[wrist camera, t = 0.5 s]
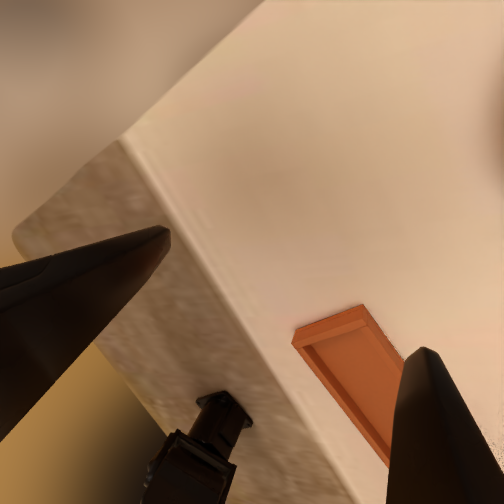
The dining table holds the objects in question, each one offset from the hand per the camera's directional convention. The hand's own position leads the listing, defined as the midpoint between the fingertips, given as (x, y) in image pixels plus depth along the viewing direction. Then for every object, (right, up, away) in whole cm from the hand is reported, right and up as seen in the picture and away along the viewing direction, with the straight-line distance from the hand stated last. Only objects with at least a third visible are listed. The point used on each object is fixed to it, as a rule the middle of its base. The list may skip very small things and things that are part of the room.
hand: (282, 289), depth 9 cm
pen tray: (+12, -13, +19) cm, 26 cm away
